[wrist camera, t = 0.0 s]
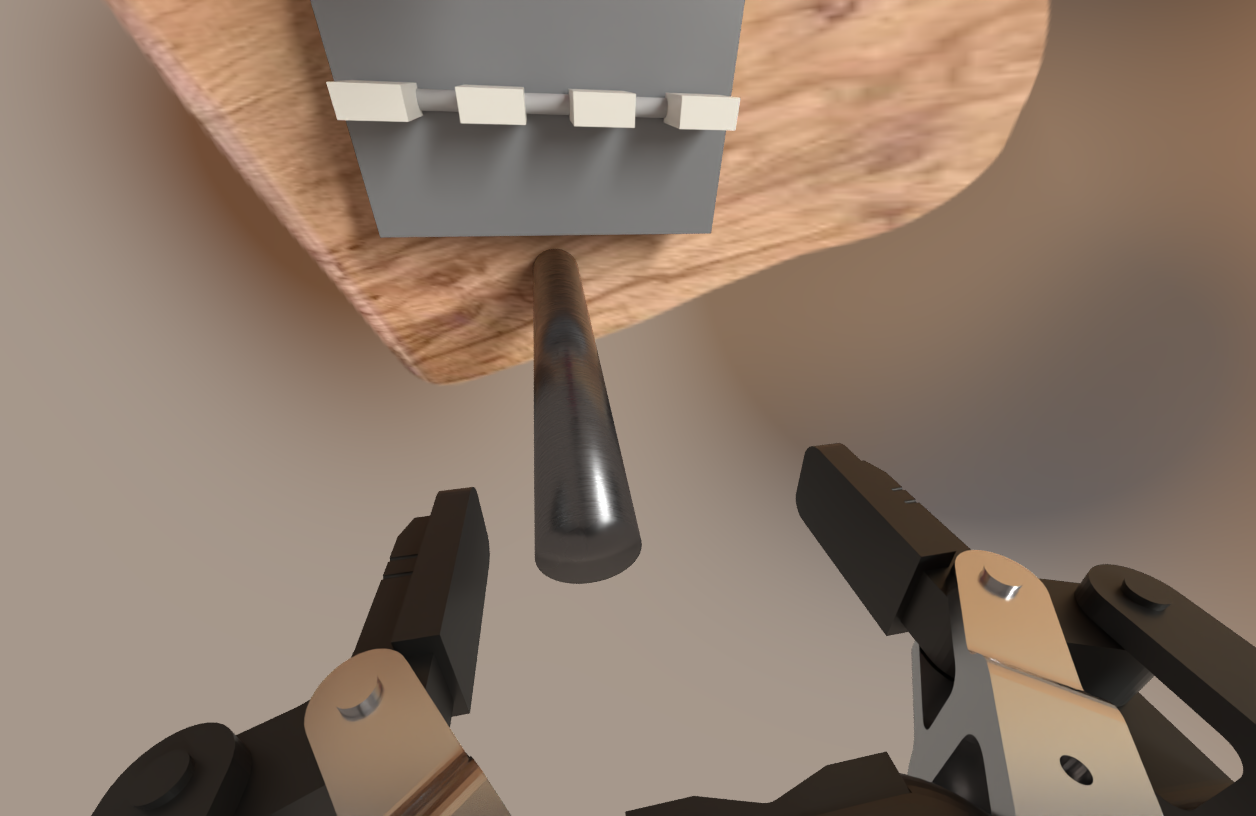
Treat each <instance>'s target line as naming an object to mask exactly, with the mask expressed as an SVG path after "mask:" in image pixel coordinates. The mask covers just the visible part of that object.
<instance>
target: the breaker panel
mask: <svg viewBox="0 0 1256 816" xmlns="http://www.w3.org/2000/svg"><path fill="white" fill-rule="evenodd" d="M310 1H311V4H312V8H313V11H314V14H315V18H316V21H317V25H318V28H319V31H320V35H321V38H322V42H323V45H324V48H325V52H326V55H327V59H328V62H329V65H330V69H331V72H332V75H333V79H334V81H345V80H362V81H387V82H413V83H416V84H417V89H444V90H455V87H456V86H460V85H488V86H513V87H524V93H550V94H569V90H568V89H589V90H614V91H627V92H631V93H635V94H636V97H656V98H665V95H666V93H690V94H715V95H724V96H731V92H732V86H733V79H734V72H735V65H736V58H737V51H738V44H739V38H740V31H741V24H742V17H743V10H744V3H745V0H310ZM422 114H423V116H421V117H419V118H416V119H414V120H412V121H409V122H393V121H355V120H346V123H347V126H348V130H349V133H350V136H351V140H352V143H353V147H354V150H355V153H356V157H357V160H358V164H359V167H360V170H361V174H362V177H363V180H364V184H365V187H366V191H367V194H368V197H369V201H370V204H371V208H372V211H373V214H374V218H375V221H376V224H377V228H378V231H379V235H380V237H458V236H539V235H620V234H700V233H711V229H712V223H713V216H714V209H715V202H716V195H717V188H718V182H719V175H720V168H721V161H722V154H723V147H724V140H725V134H726V130H697V129H678V128H676V127H673V126H671V125H668V124H666V123H664V118H648V117H635V128H621V127H583V126H574V125H573V124H572V122H571V121H570V117H569V115H549V114H526V116H527V121H526V125H507V124H469V123H461V122H460V116H459V112H450V111H422Z"/></svg>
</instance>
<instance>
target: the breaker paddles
mask: <svg viewBox="0 0 1256 816" xmlns="http://www.w3.org/2000/svg"><path fill="white" fill-rule="evenodd" d="M326 84H327V87H328V90H329V94H330V97H331V100H332V104H333V107H334V110H335V113H336V117H337V120H355V121H393V122H409V121H412V120H414V119H416V118H419V117H421V116H423V114H422V111H450V112H459V116H460V122H461V123H469V124H507V125H526V121H527V116H526V114H549V115H569V117H570V121H571V122H572V124H573V125H574V126H583V127H621V128H635V117H648V118H664V123H666V124H668V125H671V126H673V127H676V128H678V129H697V130H734V131H735V130H736V124H737V117H738V111H739V104H740V98H738V97H731V96H724V95H715V94H690V93H666V95H665V98H656V97H636V94H635V93H631V92H627V91H614V90H589V89H568V90H569V94H550V93H524V87H513V86H488V85H460V86H456V87H455V90H444V89H417V84H416V83H413V82H387V81H362V80H345V81H330V82H326Z"/></svg>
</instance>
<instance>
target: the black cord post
mask: <svg viewBox="0 0 1256 816" xmlns="http://www.w3.org/2000/svg"><path fill="white" fill-rule="evenodd" d="M533 326H534V493H535V494H534V496H535V562H536V565H537V567H538V568H539V570H540V571H541V572H542V573H543V574H545V575H546V576H548V577H550V578H552V579H554V580H557V581H560V582H565V583H573V584H575V583H576V584H583V583H592V582H597V581H601V580H605V579H608V578H611V577H613V576H615V575H617V574H619V573H621V572H623V571H624V570H626V569H627V568H628V567H630V566H631V565H632V564H633V563H634V562H635V560H636V559H637V557H638V556H639V554H640V551H641V546H642V543H641V538H640V533H639V529H638V525H637V521H636V516H635V512H634V507H633V503H632V499H631V495H630V490H629V486H628V482H627V478H626V473H625V468H624V464H623V460H622V456H621V451H620V447H619V443H618V439H617V434H616V430H615V426H614V421H613V417H612V412H611V408H610V404H609V399H608V395H607V391H606V386H605V382H604V378H603V373H602V369H601V365H600V360H599V356H598V352H597V347H596V343H595V339H594V334H593V330H592V326H591V321H590V317H589V313H588V308H587V304H586V300H585V295H584V291H583V287H582V282H581V278H580V274H579V269H578V266H577V263H576V261H575V259H574V258H573V257H572V256H571V255H570V254H569V253H568V252H566V251H563V250H560V249H550V250H547V251H544V252H543V253H541V254H540V255H539V256H538V257H537V259H536V261H535V263H534V267H533Z"/></svg>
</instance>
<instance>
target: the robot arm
mask: <svg viewBox="0 0 1256 816" xmlns="http://www.w3.org/2000/svg"><path fill="white" fill-rule="evenodd" d="M796 504H797V509H798V512H799V515H800V517H801V518H802V520H803V521H804V523H805V524H806V525H807V527H808V528H809V529H810V531H811V532H812V534H813V535H814V536H815V538H816V539H817V541H818V542H819V543H820V545H821V546H822V547H823V549H824V550H825V552H826V553H827V554H828V556H829V557H830V559H831V560H832V561H833V563H834V564H835V566H836V567H837V568H838V569H839V571H840V572H841V574H842V575H843V577H844V578H845V579H846V581H847V582H848V583H849V585H850V586H851V588H852V589H853V590H854V592H855V593H856V594H857V596H858V597H859V599H860V600H861V601H862V603H863V604H864V605H865V607H866V608H867V610H868V611H869V612H870V614H871V615H872V617H873V618H874V619H875V621H876V622H877V623H878V625H879V626H880V628H881V629H882V630H883V632H884V633H885V634H886V636H889V635H894V634H899V633H905V632H909V633H910V634H911V635H912V637H913V638H914V639H915V642H914V644H913V646H912V652H911V654H912V684H913V710H914V745H913V751H912V755H911V759H910V763H909V769H908V775H906V774H901V773H899V772H898V770H897V769H896V767H895V765H894V764H893V762H892V760H891V758H890V757H889V755H888V753H887V752H883V753H878V754H874V755H869V756H865V757H861V758H857V759H853V760H848V761H843V762H839V763H835V764H830V765H827V766H825V767H823V768H822V769H821V770H819V771H818V772H816V773H815V774H813V775H812V776H810V777H809V778H807V779H806V780H804V781H803V782H801V783H800V784H799V785H797V786H796V787H794V788H793V789H791V790H790V791H788V792H787V793H785V794H784V795H783V796H781V797H780V798H778V799H777V800H775V801H773V802H770V803H756V802H746V801H736V800H727V799H717V798H708V797H699V796H692V797H687V798H683V799H678V800H674V801H670V802H665V803H661V804H657V805H653V806H648V807H644V808H639V809H635V810H631V811H626V812H625V813H626V816H1256V647H1254V646H1253V645H1251V644H1250V643H1249V642H1247V641H1246V640H1245V639H1243V638H1242V637H1240V636H1239V635H1238V634H1236V633H1235V632H1233V631H1232V630H1231V629H1229V628H1228V627H1226V626H1225V625H1223V624H1222V623H1221V622H1219V621H1218V620H1216V619H1215V618H1214V617H1212V616H1211V615H1210V614H1208V613H1207V612H1205V611H1204V610H1203V609H1201V608H1200V607H1198V606H1197V605H1195V604H1194V603H1193V602H1191V601H1190V600H1189V599H1187V598H1186V597H1184V596H1183V595H1181V594H1180V593H1179V592H1177V591H1176V590H1174V589H1173V588H1171V587H1170V586H1168V585H1166V584H1165V583H1163V582H1161V581H1159V580H1157V579H1155V578H1153V577H1151V576H1149V575H1147V574H1144V573H1142V572H1139V571H1136V570H1133V569H1130V568H1127V567H1122V566H1117V565H1109V564H1105V565H1104V564H1103V565H1097V566H1094V567H1093V568H1091V570H1090V571H1089V572H1088V573H1087V575H1086V576H1085V578H1084V579H1083V580H1082V582H1081V583H1073V582H1064V581H1055V580H1047V579H1039V578H1038V577H1036V576H1035V575H1034V574H1033V573H1032V572H1031V571H1029V570H1028V569H1026V568H1025V567H1024V566H1022V565H1020V564H1019V563H1017V562H1015V561H1013V560H1011V559H1009V558H1007V557H1004V556H1002V555H999V554H996V553H992V552H988V551H983V550H971V549H970V548H968V546H966V545H965V544H964V543H963V542H962V541H961V540H960V539H959V538H958V537H956V536H955V535H954V534H953V533H952V532H951V531H950V530H949V529H948V528H947V527H946V526H944V525H943V524H942V523H941V522H940V521H939V520H938V519H937V518H935V517H934V516H933V515H932V514H931V513H930V512H929V511H928V510H927V509H926V508H924V507H923V506H922V505H921V504H920V503H916V501H915V498H914V497H913V496H911V495H910V494H909V493H908V492H907V491H906V490H902V486H900V485H899V484H898V483H897V482H896V481H895V480H894V479H893V478H892V477H890V476H889V475H888V474H887V473H886V472H884V471H882V470H881V469H879V468H877V467H875V466H873V465H871V464H870V463H868V462H866V461H861V460H860V459H859V458H857V457H856V455H854V454H853V453H852V452H851V451H850V450H849V449H848V448H847V447H846V446H845V445H843V444H841V443H835V444H827V445H820V446H811V447H809V448H808V449H807V450H806V452H805V455H804V460H803V464H802V469H801V473H800V478H799V483H798V487H797V492H796ZM489 557H490V553H489V540H488V535H487V531H486V527H485V522H484V518H483V515H482V511H481V506H480V503H479V498H478V494H477V491H476V489H475V488H474V487H469V488H461V489H453V490H446V491H439V492H438V494H437V496H436V499H435V502H434V505H433V509H432V512H431V515H430V516H425V517H417V518H414V519H413V520H412V521H411V522H410V524H409V525H408V526H407V527H406V528H405V529H404V530H403V531H402V533H401V534H400V535H399V536H398V537H397V540H396V543H395V545H394V548H393V551H392V553H391V556H390V562H388V564H387V566H386V569H385V572H384V574H383V580H381V582H380V585H379V588H378V590H377V593H376V595H375V598H374V600H373V603H372V606H371V608H370V611H369V614H368V616H367V619H366V622H365V624H364V627H363V630H362V632H361V635H360V637H359V640H358V643H357V645H356V648H355V650H354V652H353V655H352V657H351V658H350V659H348V660H347V661H345V662H343V663H342V664H341V665H339V666H338V667H337V668H336V669H334V670H333V671H332V672H331V673H330V674H329V675H328V676H327V677H326V678H325V679H324V680H323V681H322V683H321V684H320V685H319V686H318V688H317V689H316V691H315V692H314V694H313V696H312V697H311V699H310V700H309V701H307V702H305V703H304V704H302V705H300V706H298V707H296V708H294V709H292V710H290V711H288V712H286V713H283V714H281V715H279V716H277V717H275V718H273V719H270V720H268V721H266V722H264V723H262V724H260V725H257V726H255V727H253V728H251V729H249V730H247V731H244V732H242V733H240V734H238V735H235V734H234V733H233V732H232V731H231V730H230V729H229V728H228V727H226V726H225V725H223V724H219V723H204V724H198V725H194V726H191V727H188V728H186V729H183V730H181V731H179V732H176V733H175V734H173V735H171V736H169V737H167V738H165V739H164V740H162V741H161V742H159V743H158V744H156V745H155V746H153V747H152V748H151V749H149V750H148V751H147V752H145V753H144V754H143V755H141V756H140V757H139V758H138V759H137V760H136V761H135V762H133V763H132V764H131V765H130V766H129V767H128V768H127V769H126V770H125V771H124V772H123V773H122V774H121V775H120V777H119V778H118V779H117V780H116V781H115V783H114V784H113V785H112V786H111V787H110V788H109V790H108V791H107V793H106V794H105V795H104V797H103V798H102V800H101V801H100V803H99V804H98V806H97V808H96V809H95V811H94V812H93V814H92V815H91V816H511V814H510V813H509V811H508V810H507V808H506V807H505V805H504V804H503V802H502V801H501V799H500V797H499V796H498V794H497V793H496V791H495V790H494V788H493V787H492V785H491V784H490V782H489V781H488V779H487V778H486V776H485V774H484V773H483V771H482V770H481V769H480V767H479V766H478V764H477V763H476V762H475V760H474V759H473V758H472V757H471V756H470V757H469V756H468V755H467V753H466V752H465V751H464V749H463V748H462V746H461V745H460V743H459V742H458V740H457V739H456V737H455V735H454V734H453V732H452V731H451V729H450V724H451V717H453V716H458V715H463V714H469V713H470V708H471V701H472V693H473V685H474V677H475V670H476V662H477V654H478V646H479V638H480V631H481V623H482V615H483V608H484V600H485V592H486V584H487V577H488V569H489ZM1153 676H1156V677H1157V678H1158V679H1159V680H1160V681H1161V682H1162V683H1163V684H1165V685H1166V686H1167V687H1168V688H1169V689H1170V690H1171V691H1173V692H1174V693H1175V694H1176V695H1177V696H1178V697H1179V698H1180V699H1182V700H1183V701H1184V702H1185V703H1186V704H1187V705H1188V706H1189V707H1191V708H1192V709H1193V710H1194V711H1195V712H1196V713H1198V715H1200V716H1201V717H1202V718H1203V719H1204V720H1205V721H1206V722H1207V723H1209V724H1210V725H1211V726H1212V727H1213V728H1214V729H1215V730H1216V731H1218V732H1219V733H1220V734H1221V735H1222V736H1223V737H1224V738H1225V739H1226V740H1227V741H1228V742H1229V743H1230V744H1231V745H1232V746H1233V748H1234V749H1235V751H1236V752H1237V753H1238V755H1239V757H1240V759H1241V761H1242V764H1243V775H1242V777H1241V778H1240V779H1239V780H1237V781H1236V782H1233V781H1232V780H1231V779H1230V778H1229V777H1228V776H1227V775H1226V774H1224V773H1223V771H1221V770H1220V769H1219V768H1218V767H1217V766H1216V765H1215V764H1214V763H1213V762H1212V761H1211V760H1210V759H1209V758H1208V757H1207V756H1205V754H1203V753H1202V752H1201V751H1200V750H1199V749H1198V748H1197V747H1196V746H1195V745H1194V744H1193V743H1192V742H1191V741H1190V740H1189V739H1188V738H1186V737H1185V736H1184V735H1183V734H1182V733H1181V732H1180V731H1179V730H1178V729H1177V728H1176V727H1175V726H1174V725H1173V724H1172V723H1171V722H1170V721H1168V720H1167V719H1166V718H1165V717H1164V716H1163V715H1162V714H1161V713H1160V712H1159V711H1158V710H1157V709H1156V708H1154V706H1153V705H1151V704H1150V703H1149V702H1148V701H1147V700H1146V699H1145V698H1144V697H1143V696H1142V695H1141V694H1140V693H1139V691H1140V690H1141V689H1142V688H1143V686H1145V684H1147V683H1148V682H1149V681H1150V680H1151V679H1152V678H1153Z"/></svg>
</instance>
